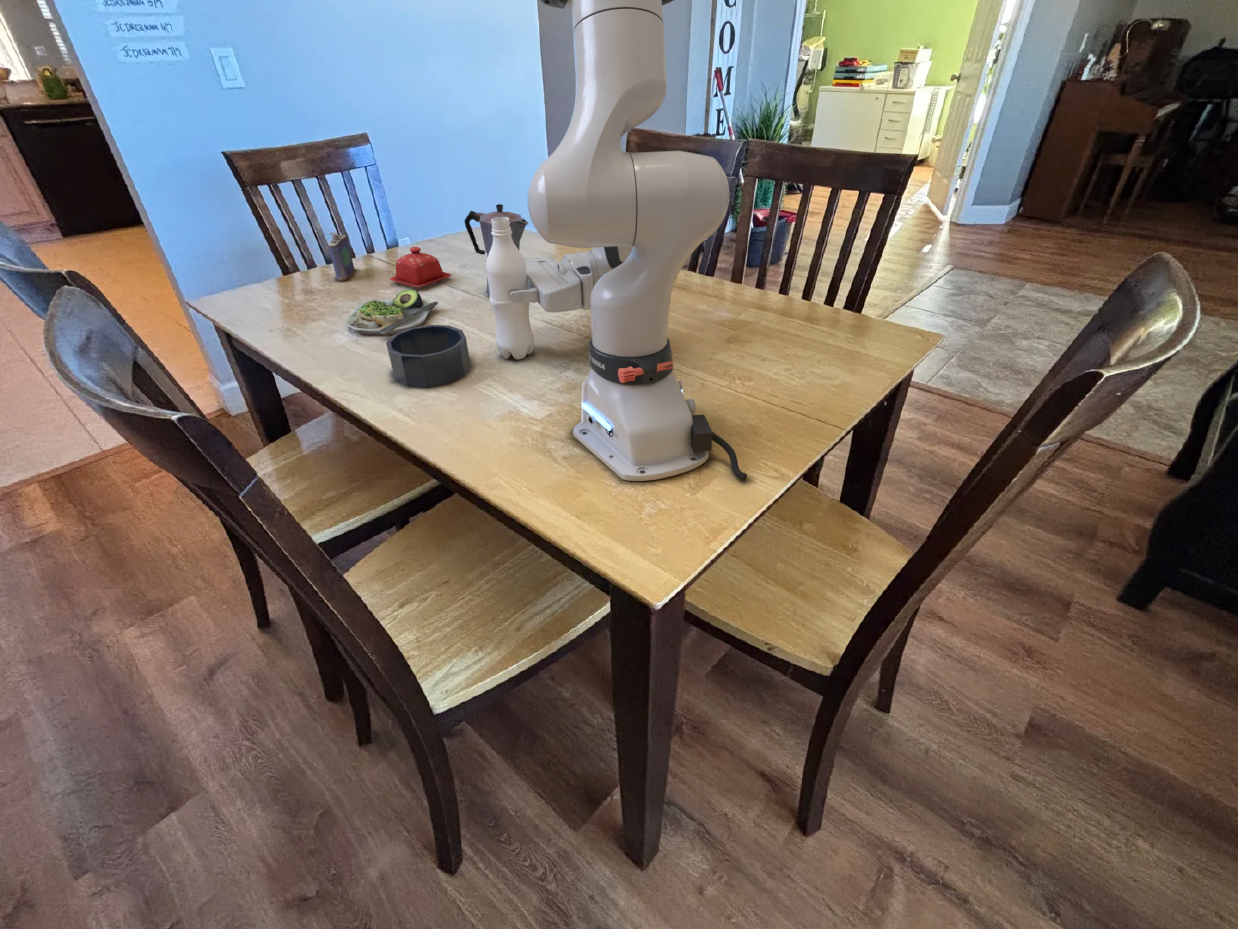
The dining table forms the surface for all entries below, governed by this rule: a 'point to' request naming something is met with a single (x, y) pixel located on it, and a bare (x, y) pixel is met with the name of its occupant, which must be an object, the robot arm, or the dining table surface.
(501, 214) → the moka pot
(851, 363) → the dining table surface
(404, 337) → the dark grey faceted ring
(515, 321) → the water bottle
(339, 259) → the flask
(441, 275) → the butter dish
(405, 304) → the avocado toast plate
